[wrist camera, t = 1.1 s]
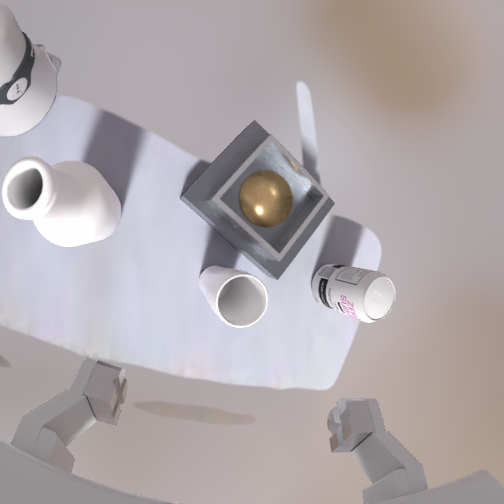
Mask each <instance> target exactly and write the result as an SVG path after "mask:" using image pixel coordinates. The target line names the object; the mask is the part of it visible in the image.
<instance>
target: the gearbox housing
mask: <svg viewBox="0 0 504 504" xmlns="http://www.w3.org/2000/svg"><path fill="white" fill-rule="evenodd" d="M180 199H181V200H182V201H183V202H184V203H185V204H187V205H188V206H189V207H190V208H191V209H192V210H193V211H194V212H196V213H197V214H198V215H199V216H200V217H201V218H202V219H203V220H205V221H206V222H207V223H208V224H209V225H210V226H211V227H212V228H214V229H215V230H216V231H217V232H218V233H219V234H220V235H222V236H223V237H224V238H225V239H226V240H227V241H228V242H229V243H231V244H232V245H233V246H234V247H235V248H236V249H237V250H239V251H240V252H241V253H242V254H243V255H244V256H245V257H246V258H248V259H249V260H250V261H251V262H252V263H253V264H254V265H256V266H257V267H258V268H259V269H260V270H261V271H262V272H264V273H265V274H266V275H267V276H268V277H271V278H274V279H277V280H278V279H279V277H280V276H281V275H282V274H283V272H284V271H285V270H286V268H287V267H288V266H289V264H290V263H291V262H292V260H293V259H294V258H295V257H296V255H297V254H298V253H299V251H300V250H301V249H302V247H303V246H304V245H305V243H306V242H307V241H308V239H309V238H310V237H311V235H312V234H313V232H314V231H315V230H316V228H317V227H318V226H319V224H320V223H321V222H322V220H323V219H324V218H325V216H326V215H327V213H328V212H329V211H330V209H331V208H332V207H333V205H334V202H333V201H332V200H331V199H330V197H329V195H328V194H327V192H326V191H325V190H324V189H323V188H322V187H321V186H320V185H319V184H318V182H317V181H316V180H315V179H314V178H313V177H312V176H311V175H310V174H309V173H308V172H307V171H306V170H305V168H304V167H303V166H302V165H301V164H300V163H299V162H298V161H297V160H296V159H295V158H294V157H293V156H292V155H291V154H290V153H289V152H288V151H287V150H286V149H285V148H284V147H283V146H282V145H281V144H280V143H279V142H278V141H277V140H276V139H275V138H274V137H273V136H272V135H270V134H268V133H267V132H266V131H265V130H264V129H263V128H262V127H261V126H260V125H259V124H258V123H257V122H256V121H255V120H254V121H253V122H252V123H251V124H250V125H249V126H248V127H247V128H245V129H244V130H243V132H241V134H239V135H238V136H237V137H236V138H235V140H234V141H233V142H232V143H231V144H230V145H229V146H228V147H227V148H226V149H225V150H224V151H223V152H222V153H221V154H220V155H219V156H218V157H217V158H216V159H215V160H214V161H213V162H212V163H211V164H210V166H209V167H208V168H207V169H206V170H205V171H204V172H203V173H202V174H201V175H200V176H199V177H198V179H197V180H196V181H195V182H194V183H193V184H192V185H191V186H190V187H189V189H188V190H187V191H186V192H185V193H184V194H183V195H182V196H181V198H180Z"/></svg>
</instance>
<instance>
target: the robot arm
mask: <svg viewBox="0 0 504 504" xmlns="http://www.w3.org/2000/svg"><path fill="white" fill-rule="evenodd" d="M60 66H61V61H60V59H59V58H58V57H56V56H53V55H51V54H49V53H47V52H46V51H45V50H44V48H43V47H42V46H41V47H39V46H37V45H34V44H32V43H31V41H30V39H29V38H28V37H27V36H26V34H25V33H24V32H22V31H21V29H20V27H19V25H18V23H17V21H16V19H15V17H14V15H13V12H12V11H11V9H10V8H8V7H7V6H5V5H3V4H0V137H1V136H16V135H19V134H22V133H24V132H26V131H28V130H30V129H31V128H33V127H34V126H35V125H36V124H38V123H39V122H40V121H41V120H42V119H43V117H44V116H45V115H46V114H47V112H48V111H49V109H50V107H51V106H52V104H53V101H54V99H55V96H56V91H57V74H58V71H59V69H60ZM125 374H126V373H125V368H123V367H119V366H115V365H112V364H109V363H105V362H102V361H99V360H96V359H92V358H89V357H86V358H85V359H84V361H83V363H82V365H81V367H80V369H79V371H78V373H77V375H76V377H75V379H74V382H73V384H72V386H71V388H70V390H67V389H66V390H64V391H63V392H61V393H60V394H58V395H56V396H55V397H53V398H52V399H50V400H48V401H47V402H45V403H43V404H42V405H40V406H38V407H37V408H35V409H34V410H32V411H30V412H29V413H27V414H26V415H24V416H23V417H22V419H21V422H20V424H19V426H18V428H17V431H16V433H15V435H14V437H13V440H12V442H11V444H10V443H8V442H6V441H5V440H3V439H1V438H0V504H180V503H175V502H169V501H164V500H159V499H155V498H150V497H146V496H142V495H138V494H134V493H130V492H127V491H123V490H120V489H116V488H113V487H109V486H107V485H104V484H100V483H98V482H95V481H92V480H89V479H86V478H83V477H80V476H78V475H75V474H73V473H71V472H72V468H73V465H74V461H75V459H74V456H73V455H72V454H71V453H70V451H69V450H68V449H67V448H66V446H67V445H69V444H70V443H71V442H72V441H73V440H75V439H76V438H77V437H78V436H79V435H80V434H82V433H83V432H84V431H85V430H86V429H88V428H89V427H90V426H91V425H92V424H94V423H95V422H96V420H98V421H101V422H105V423H109V424H112V425H117V423H118V420H119V417H120V414H121V409H120V405H121V404H122V403H124V401H125V398H126V393H127V380H126V379H125V378H124V376H125ZM327 424H328V430H329V431H330V432H331V433H332V436H331V437H330V445H331V451H332V452H350V454H351V455H352V457H353V458H354V459H355V460H356V462H357V463H358V464H359V466H360V467H361V469H362V470H363V471H364V472H365V474H366V475H367V476H368V478H369V479H370V480H371V482H372V483H373V484H372V485H370V486H368V487H367V488H365V489H364V490H363V498H364V504H504V488H503V485H502V484H501V483H500V482H499V481H498V480H497V479H496V478H495V477H494V476H493V475H492V474H490V473H489V472H488V471H486V470H480V471H478V472H475V473H472V474H470V475H467V476H465V477H463V478H460V479H457V480H454V481H451V482H448V483H446V484H443V485H440V486H436V487H433V488H430V489H428V486H427V482H426V478H425V474H424V470H423V467H422V464H421V463H420V462H419V461H418V460H417V459H416V458H415V457H414V456H413V455H412V454H411V453H410V452H409V451H408V450H407V449H406V448H405V447H404V446H403V445H402V444H401V443H400V442H399V441H398V440H397V439H396V438H395V437H394V436H393V435H392V434H391V433H390V432H389V431H388V432H386V430H385V426H384V422H383V419H382V415H381V412H380V408H379V405H378V402H377V400H376V399H374V398H369V399H363V398H360V399H359V398H353V399H350V398H349V399H340V400H339V401H338V402H337V407H335V408H333V409H332V410H331V411H330V413H329V416H328V421H327Z"/></svg>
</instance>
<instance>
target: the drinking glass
mask: <svg viewBox="0 0 504 504" xmlns="http://www.w3.org/2000/svg"><path fill="white" fill-rule="evenodd" d="M199 286H200V289H201V291H202V292H203V294H204V295H205V297H206V299H207V301H208V303H209V305H210V307H211V308H212V310H213V311H214V312H215V314H216V315H217V316H218V317H219V318H220V319H222V320H223V321H224V322H225V323H226V324H228V325H230V326H233V327H239V328H240V327H247V326H250V325H252V324H254V323H256V322H257V321H258V320H259V319H260V318H261V317H262V316H263V315H264V313H265V311H266V309H267V305H268V292H267V289H266V287H265V285H264V284H263V282H262V281H261V280H260V279H258V278H257V277H255V276H254V275H252V274H250V273H248V272H245V271H242V270H239V269H232V268H224V267H221V266H210V267H208V268H206V269H205V270H204V271H203V272H202V273H201V275H200V278H199Z"/></svg>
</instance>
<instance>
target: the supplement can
mask: <svg viewBox="0 0 504 504" xmlns="http://www.w3.org/2000/svg"><path fill="white" fill-rule="evenodd" d="M312 294H313V296H314V298H315V300H316V301H317V302H318V303H319V304H321V305H323V306H326V307H328V308H331V309H333V310H336V311H338V312H341V313H343V314H346V315H348V316H351V317H353V318H356V319H358V320H361V321H363V322H368V323H371V322H374V321H380V320H382V319H384V318H385V317H386V316H387V315H388V314H389V313H390V311H391V310H392V307H393V305H394V301H395V287H394V285H393V282H391V280H390V279H389V278H387V277H386V276H385V274H383V273H380V272H378V271H372V270H367V269H361V268H355V267H350V266H344V265H339V264H333V263H332V264H326V265H324V266H322V267H321V268H320V269H319V270H318V271H317V272H316V274H315V276H314V278H313V280H312Z"/></svg>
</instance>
